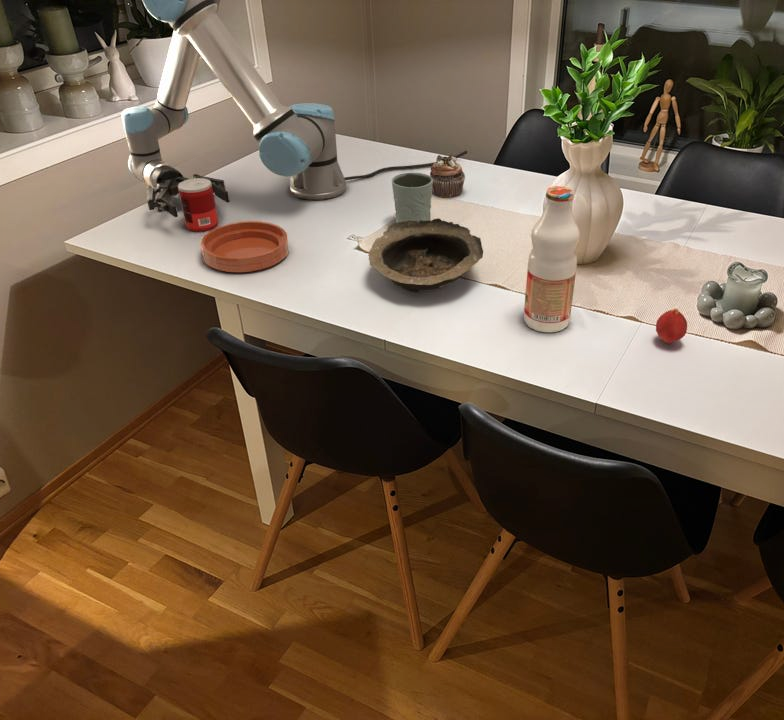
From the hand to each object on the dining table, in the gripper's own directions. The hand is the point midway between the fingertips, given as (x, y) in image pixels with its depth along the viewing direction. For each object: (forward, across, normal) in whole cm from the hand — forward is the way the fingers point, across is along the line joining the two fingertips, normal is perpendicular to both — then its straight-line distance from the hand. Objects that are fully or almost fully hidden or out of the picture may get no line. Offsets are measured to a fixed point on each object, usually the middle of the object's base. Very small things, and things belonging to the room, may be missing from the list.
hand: (202, 204), depth 178 cm
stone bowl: (+55, -25, -7) cm, 61 cm away
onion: (+105, -45, -7) cm, 114 cm away
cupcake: (+21, -61, -7) cm, 65 cm away
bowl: (+19, -1, -6) cm, 20 cm away
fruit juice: (+84, -32, -7) cm, 90 cm away
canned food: (-2, 0, -7) cm, 7 cm away
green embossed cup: (+31, -41, -7) cm, 52 cm away
